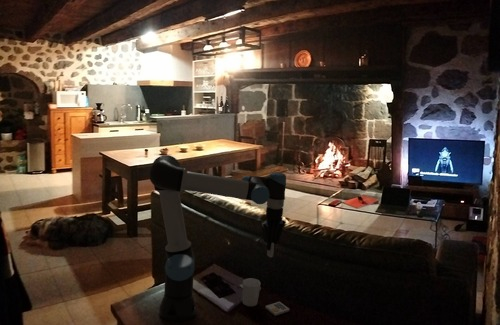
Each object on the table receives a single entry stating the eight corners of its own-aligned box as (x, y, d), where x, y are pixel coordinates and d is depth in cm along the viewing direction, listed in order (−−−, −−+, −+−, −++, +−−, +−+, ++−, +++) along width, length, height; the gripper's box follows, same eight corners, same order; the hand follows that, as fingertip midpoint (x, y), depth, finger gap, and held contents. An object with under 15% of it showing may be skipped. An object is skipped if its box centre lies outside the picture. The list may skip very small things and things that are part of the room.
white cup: (256, 308, 177) (258, 288, 175) (239, 305, 179) (240, 284, 177) (260, 300, 184) (262, 280, 183) (243, 296, 186) (245, 276, 184)
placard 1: (239, 286, 195) (239, 284, 195) (252, 283, 200) (252, 281, 199) (247, 293, 189) (247, 291, 189) (260, 289, 194) (261, 287, 194)
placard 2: (265, 307, 178) (265, 305, 178) (279, 303, 183) (279, 301, 183) (275, 315, 173) (275, 313, 172) (289, 311, 177) (289, 308, 177)
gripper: (268, 210, 173) (263, 261, 177) (291, 207, 181) (286, 256, 185) (258, 205, 179) (253, 255, 183) (280, 203, 187) (276, 250, 191)
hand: (270, 256), depth 184 cm, fingers closed
